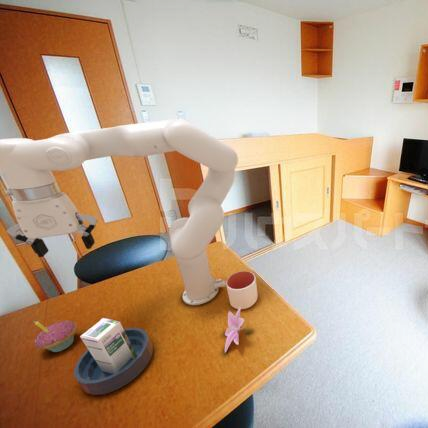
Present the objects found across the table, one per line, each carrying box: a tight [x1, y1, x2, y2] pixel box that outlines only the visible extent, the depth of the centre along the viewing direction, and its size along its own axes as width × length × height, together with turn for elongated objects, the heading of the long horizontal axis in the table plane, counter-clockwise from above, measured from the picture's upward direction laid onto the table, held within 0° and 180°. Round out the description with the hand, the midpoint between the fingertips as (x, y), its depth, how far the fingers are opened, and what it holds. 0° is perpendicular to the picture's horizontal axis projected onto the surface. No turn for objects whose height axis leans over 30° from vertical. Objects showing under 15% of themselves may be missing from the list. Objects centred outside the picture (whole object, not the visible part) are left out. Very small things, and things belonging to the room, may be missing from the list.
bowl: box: [73, 327, 154, 396], centre depth 66 cm, size 16×16×6 cm
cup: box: [225, 270, 259, 310], centre depth 87 cm, size 10×10×10 cm
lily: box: [224, 307, 251, 354], centre depth 74 cm, size 12×12×10 cm
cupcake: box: [32, 320, 78, 353], centre depth 70 cm, size 9×8×12 cm
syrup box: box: [79, 317, 137, 374], centre depth 63 cm, size 6×6×14 cm
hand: (68, 250), depth 65 cm, fingers open, 9 cm apart
